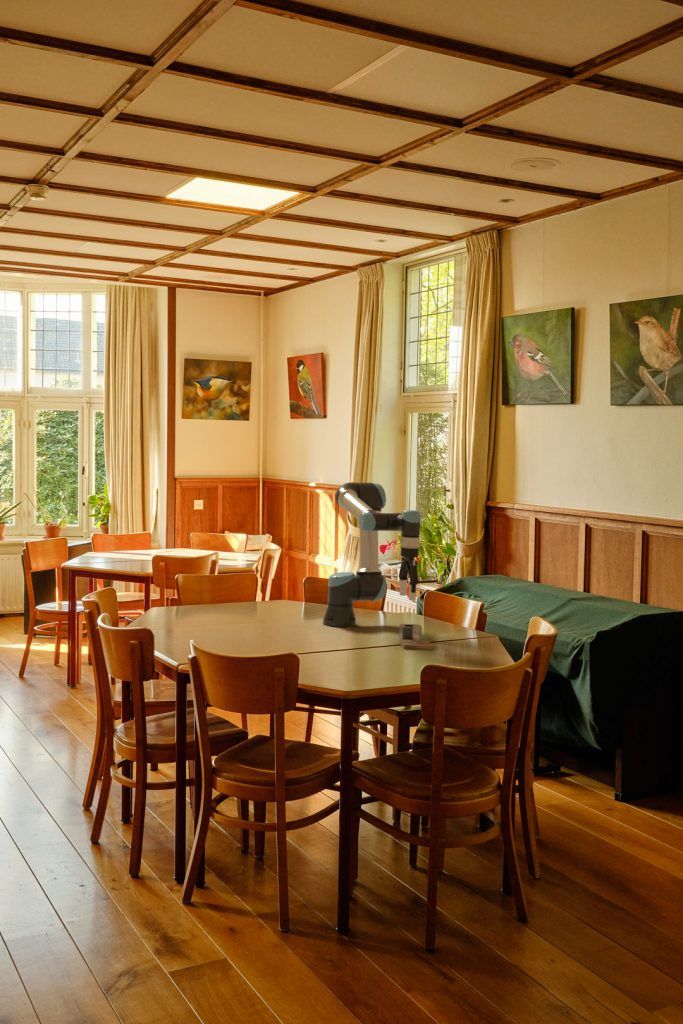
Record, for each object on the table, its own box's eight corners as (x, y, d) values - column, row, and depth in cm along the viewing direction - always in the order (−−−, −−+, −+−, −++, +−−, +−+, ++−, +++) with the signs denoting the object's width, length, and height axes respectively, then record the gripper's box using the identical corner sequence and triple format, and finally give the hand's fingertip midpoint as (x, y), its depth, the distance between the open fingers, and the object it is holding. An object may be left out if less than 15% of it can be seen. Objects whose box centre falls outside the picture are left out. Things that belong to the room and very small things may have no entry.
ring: (398, 637, 426) (399, 623, 426) (417, 638, 427) (418, 624, 427) (402, 641, 418) (402, 627, 418) (421, 641, 419) (421, 627, 419)
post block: (399, 643, 414) (400, 622, 413) (427, 643, 415) (428, 623, 415) (404, 649, 402) (405, 628, 402) (433, 649, 404) (434, 628, 403)
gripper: (393, 544, 428) (390, 593, 430) (409, 550, 404) (407, 602, 405) (409, 544, 430) (407, 593, 431) (427, 550, 406) (425, 602, 407)
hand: (407, 597), depth 418 cm, fingers open, 13 cm apart
